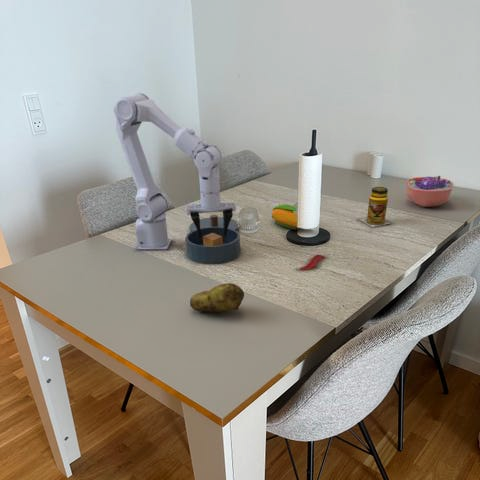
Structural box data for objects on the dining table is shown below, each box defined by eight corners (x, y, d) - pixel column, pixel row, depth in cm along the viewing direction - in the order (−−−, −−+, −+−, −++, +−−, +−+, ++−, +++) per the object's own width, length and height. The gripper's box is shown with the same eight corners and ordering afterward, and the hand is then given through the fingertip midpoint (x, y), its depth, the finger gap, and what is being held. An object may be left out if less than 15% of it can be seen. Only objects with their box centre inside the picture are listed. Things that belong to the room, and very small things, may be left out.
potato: (206, 298, 120) (204, 270, 115) (249, 311, 114) (248, 282, 109) (186, 313, 114) (183, 283, 110) (230, 327, 108) (229, 297, 104)
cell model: (454, 200, 182) (461, 171, 176) (443, 215, 168) (449, 184, 162) (410, 194, 190) (415, 166, 184) (396, 208, 175) (400, 178, 170)
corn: (280, 197, 165) (325, 210, 152) (281, 218, 169) (325, 232, 156) (266, 204, 161) (311, 217, 148) (267, 224, 165) (310, 239, 153)
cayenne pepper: (304, 272, 131) (304, 266, 130) (292, 267, 134) (292, 261, 133) (332, 260, 137) (333, 254, 136) (321, 255, 141) (321, 249, 140)
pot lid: (191, 239, 154) (190, 226, 152) (188, 221, 169) (187, 209, 167) (242, 235, 156) (242, 222, 154) (235, 218, 171) (235, 206, 168)
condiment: (373, 227, 159) (377, 192, 153) (358, 219, 166) (362, 186, 160) (390, 224, 162) (395, 189, 156) (375, 216, 168) (379, 183, 162)
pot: (183, 263, 138) (181, 246, 135) (191, 242, 152) (190, 226, 149) (238, 264, 137) (237, 246, 134) (241, 242, 151) (241, 226, 148)
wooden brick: (213, 255, 142) (212, 240, 139) (203, 251, 145) (202, 236, 142) (223, 251, 144) (222, 236, 142) (213, 247, 147) (212, 232, 144)
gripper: (232, 185, 139) (234, 228, 146) (184, 188, 137) (187, 232, 144) (236, 192, 133) (237, 237, 140) (185, 195, 131) (189, 241, 138)
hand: (212, 235), depth 142 cm, fingers open, 7 cm apart
